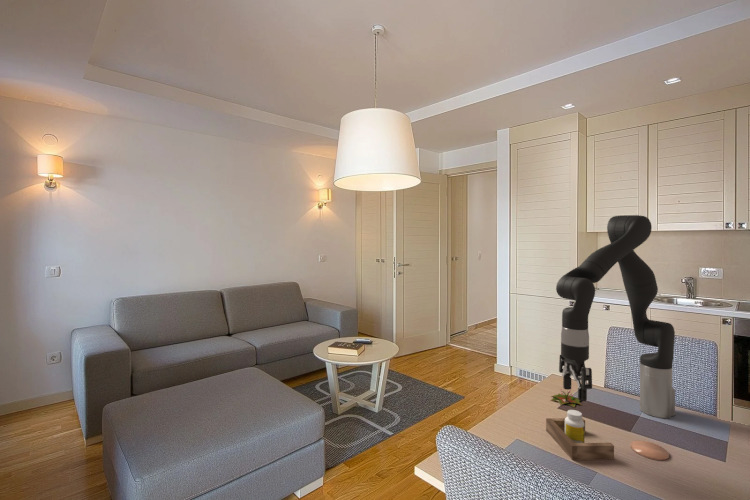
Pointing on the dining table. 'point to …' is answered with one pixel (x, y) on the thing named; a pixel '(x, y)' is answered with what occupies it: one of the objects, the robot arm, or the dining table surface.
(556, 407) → the dining table surface
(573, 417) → the supplement bottle
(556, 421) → the walnut cubby
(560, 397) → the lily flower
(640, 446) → the terracotta coaster
